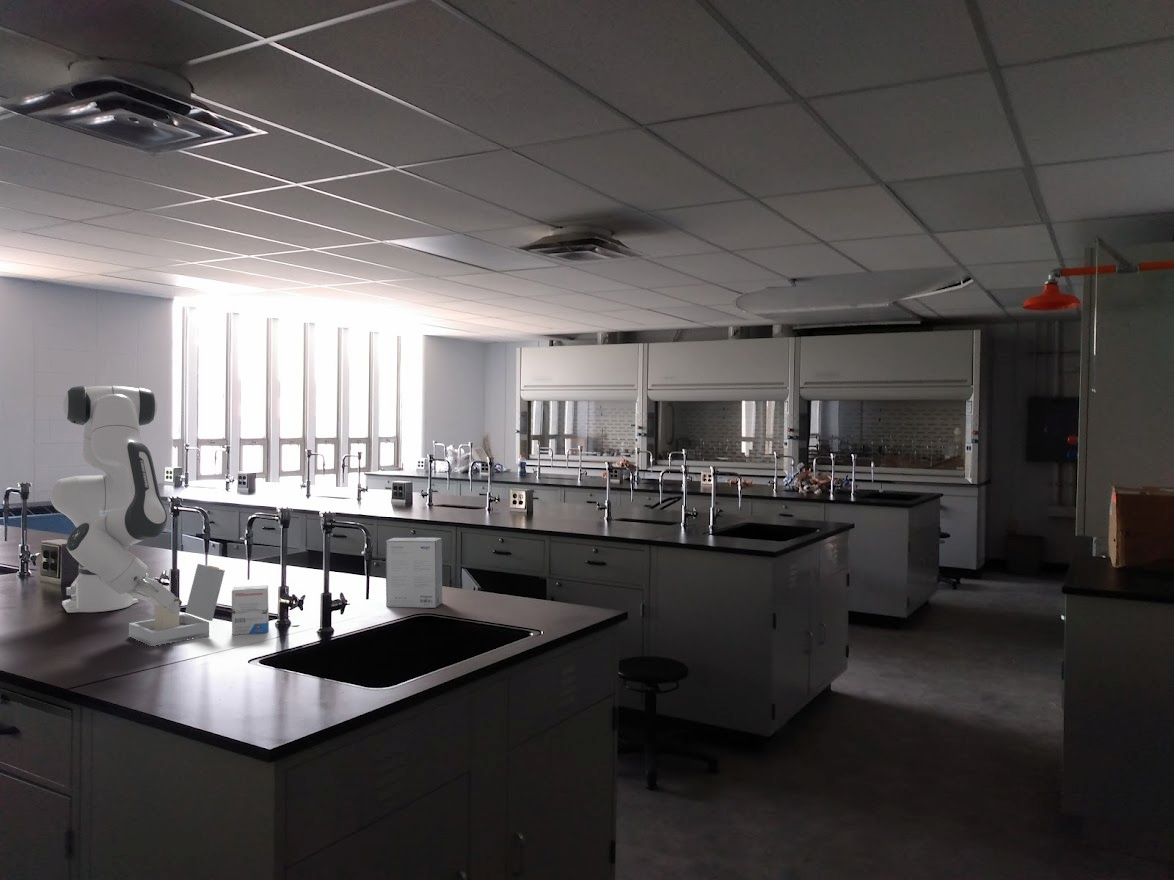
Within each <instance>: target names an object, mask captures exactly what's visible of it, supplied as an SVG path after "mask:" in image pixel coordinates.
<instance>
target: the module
mask: <svg viewBox="0 0 1174 880" xmlns="http://www.w3.org/2000/svg"><path fill="white" fill-rule="evenodd" d="M175 597H176V598H175V600H174V602H175V604H176V605H177V606H178V607H180V598H179V597H177V596H175ZM179 615H180V611H179V612H178V613H177V614H174V613H172V612H171V611H170V610H169V609H168V608H164V607H161V606H158V605H154V619H155V631H158V630H164V629H169V628H175V627H179Z"/></svg>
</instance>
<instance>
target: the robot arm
mask: <svg viewBox="0 0 1174 880" xmlns="http://www.w3.org/2000/svg"><path fill="white" fill-rule="evenodd" d="M62 409H63V411H64V414H65V416H66V420H68V421H69V422H70V423H71V424H75V425H79V426H83V427H84V428H83V442H82V457H83V460H84V461H85V462H86V463H87V464H88V465H90V466H91V467H93V468H94V469H97V470H100V471H102V472H103V473H105V474H96V475H94V474H93V475H90V474H89V475H74V476H69V477H64V478H60V479H58V480H57V481H56V482H55V483H54V484H53V485H52V487H51V489H50V494H49V499H50V502H51V504H52V506H53V507H54V509H55V510H56V511H58V512H59V513H61V514H62V515H64V516H66V517H67V518H68V519H69V520H70V521H71V522H72V523H73V525H74V527H75V529H73V531H71V533H70V535H69V536H68V538H67V540H66V541H67V542H66V549H67V551H68V553H69V554H70V555H71V556H72V558H74V560H75V561H77V562H78V563H79V565H78V571H77V572H78V575H77V577H76V578H75V579H74V581H73V582H72V583H71V584H70V586H69V587H68V586H66V587H65V591H66V592H65V593H66V596H70V598H69V599H65V600H62V601H61V605H62V607H63V609H64V611H66V613H70V614H71V613H98V612H99V613H100V612H108V611H109V612H110V611H116V610H120V609H124V608H128V607H130V606H132V605H134V604H137V603H139V600H141V601H145V602H148V603H151V604H152V605H153V606H155V605H158V606H161V607H164V608H168V609H169V610H170V611H171V612H172V613H174V614H177V613H178V612H179V613H180V611H181V607H180V606H179V607H178V606H177V605H176V604H175V602H174V600H175V598H176V597H177V596H176V595H175V594H174V593H172V591H170V590H169V589H168V588H166V586H163V585H162V583H160V582H158V581H157V580H155V579H153V578H151V577H149V575H150V574H149V573H148V570H149V567H148V565H147V564H146V563H144V561H142V560H141V559H140V558H138V557H137V556H136V555H135V554H133V553H132V552H130V550H129V549H130V547H131V546H132V545H135V544H138V543H140V542H142V541H145V540H146V541H147V540H149V539H152V538H156V537H158V536H160V535H161V534H163V532H164V531H165V529H166V527H167V524H168V523H167V522H168V514H167V510H166V508H165V506H164V503H163V501H162V499H161V494H160V490H159V486H158V485H159V484H158V479H157V476H156V471H155V466H154V461H153V458H152V454H151V452H150V450H149V448H148V447H147V445H145V444H144V443H142V440H141V431H140V429H141V428H140V426H144V425H145V426H146V425H149V424H151V423H152V422H153V421H154V419H155V416H156V414H157V410H158V401H157V399H156V397H155V394H154V393H153V391H152V390H150V389H147V388H143V387H137V388H136V387H130V386H124V385H94V386H93V385H92V386H85V385H79V386H73V387H71V388H69V389H68V390H67V392H66V394H65V396H64V398H63V401H62ZM102 513H104V514H102ZM101 514H102V515H101Z"/></svg>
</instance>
